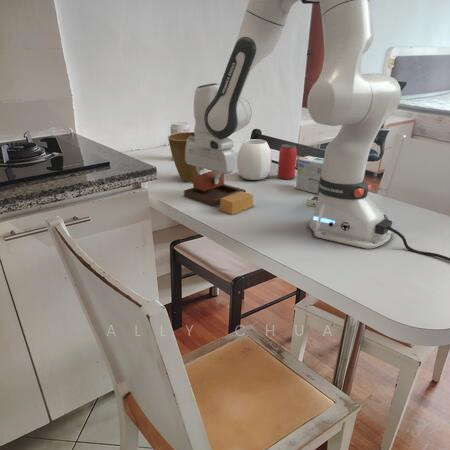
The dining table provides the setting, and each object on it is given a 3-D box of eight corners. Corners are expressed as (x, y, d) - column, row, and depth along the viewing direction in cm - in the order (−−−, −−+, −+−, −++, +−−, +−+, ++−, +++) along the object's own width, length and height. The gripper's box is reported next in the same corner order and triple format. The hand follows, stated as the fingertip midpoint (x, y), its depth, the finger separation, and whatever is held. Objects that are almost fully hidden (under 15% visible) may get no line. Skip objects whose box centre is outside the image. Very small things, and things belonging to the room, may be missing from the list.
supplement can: (174, 156, 188) (172, 121, 180) (192, 157, 188) (191, 122, 179) (170, 161, 182) (168, 124, 174) (188, 161, 181) (187, 125, 173)
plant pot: (190, 172, 167) (188, 130, 158) (217, 179, 159) (217, 135, 150) (162, 180, 157) (159, 135, 149) (190, 188, 149) (188, 141, 141)
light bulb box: (330, 190, 147) (334, 160, 141) (320, 195, 143) (324, 163, 137) (305, 184, 153) (308, 154, 148) (294, 188, 149) (297, 158, 143)
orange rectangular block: (252, 206, 133) (253, 194, 131) (232, 214, 127) (232, 202, 125) (241, 202, 136) (241, 191, 134) (220, 210, 130) (220, 198, 128)
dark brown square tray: (245, 195, 142) (245, 189, 141) (215, 206, 133) (215, 200, 132) (214, 186, 151) (214, 181, 150) (184, 196, 141) (183, 190, 140)
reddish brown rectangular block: (224, 184, 144) (224, 173, 141) (203, 191, 137) (203, 179, 135) (213, 181, 146) (213, 170, 144) (193, 188, 140) (192, 176, 138)
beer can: (293, 180, 158) (297, 147, 151) (276, 179, 159) (279, 147, 152) (294, 175, 163) (297, 144, 157) (278, 174, 164) (280, 143, 158)
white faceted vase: (262, 171, 168) (264, 137, 160) (276, 180, 157) (278, 144, 150) (232, 174, 164) (232, 139, 157) (243, 184, 154) (245, 146, 146)
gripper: (179, 136, 138) (181, 177, 145) (224, 145, 126) (224, 190, 133) (193, 133, 141) (194, 173, 149) (237, 142, 130) (236, 185, 137)
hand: (208, 181), depth 141 cm, fingers closed on reddish brown rectangular block, 5 cm apart
